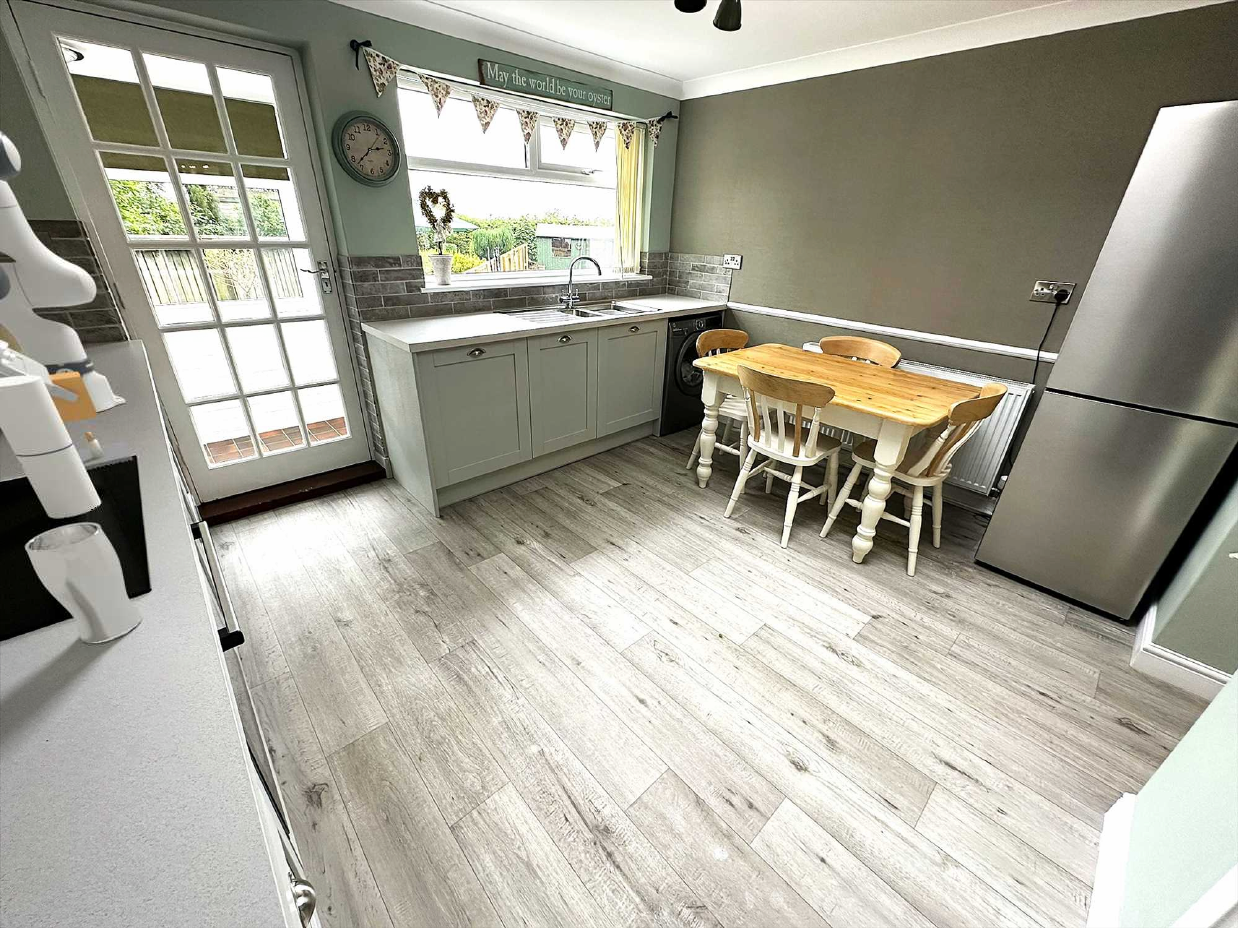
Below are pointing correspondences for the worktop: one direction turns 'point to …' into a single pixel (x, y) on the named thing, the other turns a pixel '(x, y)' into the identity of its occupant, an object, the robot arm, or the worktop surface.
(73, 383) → the orange rectangular block
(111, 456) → the plate
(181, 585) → the worktop surface
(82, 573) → the beer glass
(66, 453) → the cylindrical container
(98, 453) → the tan-tipped white capsule
